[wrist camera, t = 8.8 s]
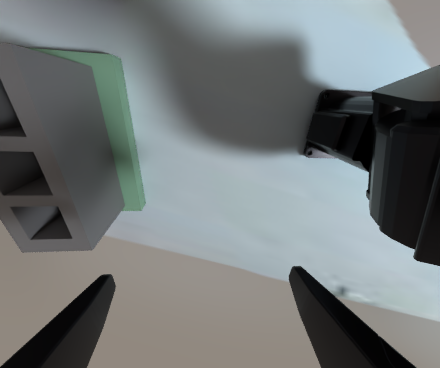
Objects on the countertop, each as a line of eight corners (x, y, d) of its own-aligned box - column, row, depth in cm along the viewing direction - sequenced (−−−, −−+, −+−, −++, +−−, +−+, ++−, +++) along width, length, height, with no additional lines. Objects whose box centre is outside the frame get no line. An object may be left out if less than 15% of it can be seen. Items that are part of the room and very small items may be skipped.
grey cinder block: (91, 66, 13) (9, 43, 7) (125, 205, 18) (92, 250, 13) (20, 61, 12) (-124, 32, 7) (76, 206, 18) (22, 252, 12)
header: (121, 58, 14) (81, 40, 9) (145, 203, 20) (129, 233, 16) (11, 50, 13) (-89, 25, 9) (72, 203, 19) (33, 235, 15)
